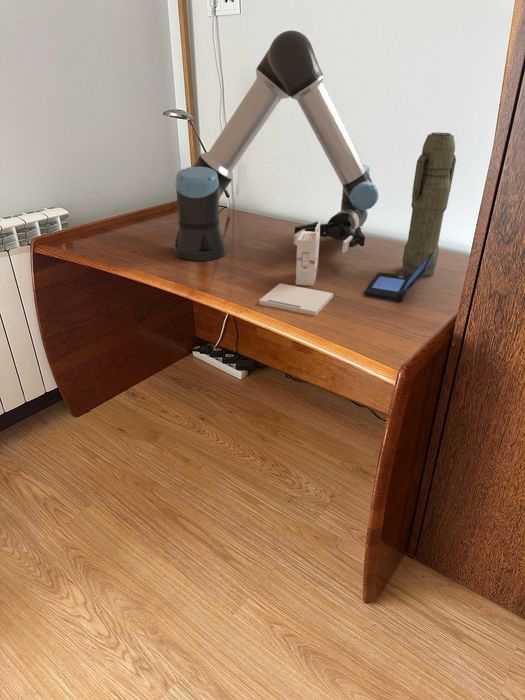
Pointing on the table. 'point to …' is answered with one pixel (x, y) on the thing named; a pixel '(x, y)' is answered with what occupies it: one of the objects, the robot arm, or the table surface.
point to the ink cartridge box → (307, 257)
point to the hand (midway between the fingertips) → (319, 243)
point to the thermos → (429, 201)
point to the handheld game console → (395, 283)
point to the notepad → (296, 299)
